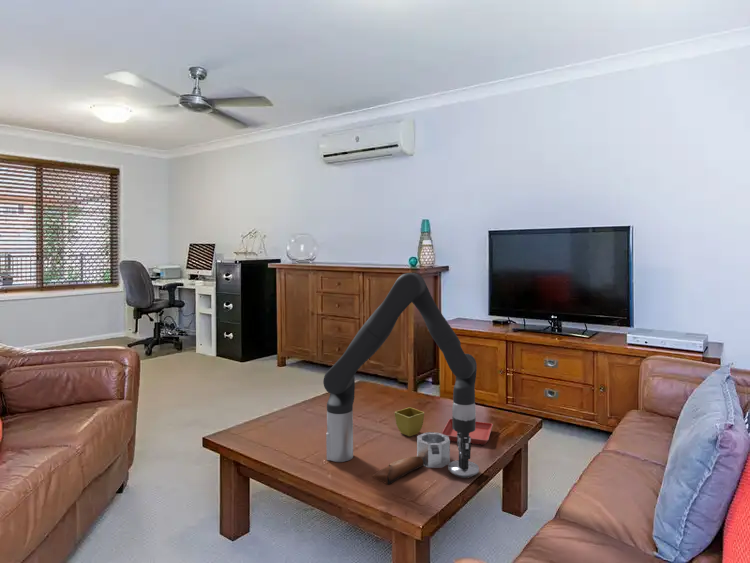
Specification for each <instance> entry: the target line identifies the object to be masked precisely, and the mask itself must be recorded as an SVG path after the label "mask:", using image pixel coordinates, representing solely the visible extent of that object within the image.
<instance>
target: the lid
mask: <svg viewBox="0 0 750 563" xmlns="http://www.w3.org/2000/svg"><path fill="white" fill-rule="evenodd" d="M464 455H467V454H464ZM447 469H448V471H449V472H450V473H451V474H452V475H454V476H456V477H457V476H458V477H457V478H460V477H461V479H469V478H471V477H474V476H475V475H478V474H479V472H480V467H479V465H478V464H477V463H475V462H473V461H470V460H468V470H462V468H461V451H459V450H458V459H457V460H453V461H450V463H449V464H448V465H447ZM468 477H469V478H468Z"/></svg>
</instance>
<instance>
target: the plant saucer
mask: <svg viewBox="0 0 750 563" xmlns="http://www.w3.org/2000/svg"><path fill="white" fill-rule="evenodd" d="M493 426H494V424H493V423H492V422H483V421H475V431H473V432H470V433H469V436H470V437H471V442H470V443H472V444H473V445H479V444H481V445H480V446H484V445H486V444H487V442H489V439H490V435H491V432H492V429H493ZM441 434H444V435H446V436H448V437H449V440H450V442H455V443H457V432H456V431H455V430H453V428H452V418H449V419H448V421H447V422H446V424H445V426H444V428H443V429H442V432H441ZM472 444H471V445H472Z"/></svg>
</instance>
